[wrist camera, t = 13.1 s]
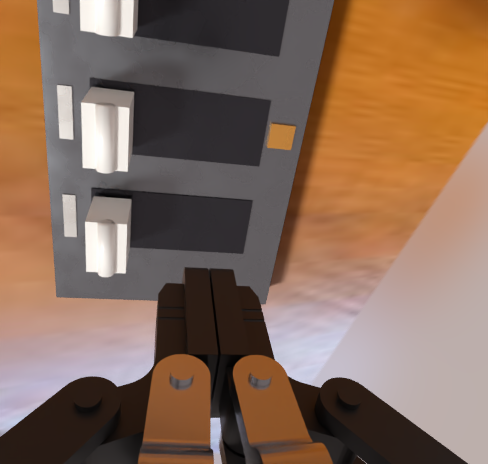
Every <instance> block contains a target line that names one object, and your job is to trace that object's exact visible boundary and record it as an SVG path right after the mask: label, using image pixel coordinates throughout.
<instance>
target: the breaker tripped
mask: <svg viewBox="0 0 488 464" xmlns="http://www.w3.org/2000/svg"><path fill="white" fill-rule="evenodd" d="M133 117H134V92H130V91H122V90H114V89H106V88H98V87H91V88H90V90H89V91H88V93H87V94H86V96H85V97H84V99H83V100H82V102H81V119H82V159H83V168H90V169H96V171H97V172H100V173H106V174H107V173H113V172H114V171H124V172H128V168H129V164H130V159H131V154H132V147H133Z"/></svg>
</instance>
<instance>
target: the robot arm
mask: <svg viewBox="0 0 488 464" xmlns="http://www.w3.org/2000/svg"><path fill="white" fill-rule="evenodd" d="M219 417H220V422H221V433H220V438H219V449H220V455H221V461H222V464H366V463H367V464H468V463H466V462H465V461H464V460H462V459H461V458H460V457H458V456H457V455H456V454H454V453H453V452H452V451H450V450H449V449H447V448H446V447H445V446H443V445H442V444H441V443H439V442H438V441H437V440H435V439H434V438H433V437H431V436H430V435H428V434H427V433H426V432H424V431H423V430H422V429H420V428H419V427H418V426H416V425H415V424H413V423H412V422H411V421H410V420H408V419H407V418H406V417H404V416H403V415H401V414H400V413H399V412H397V411H396V410H395V409H393V408H392V407H391V406H389V405H388V404H387V403H385V402H384V401H382V400H381V399H380V398H378V397H377V396H376V395H374V394H373V393H371V392H370V391H369V390H368V389H366V388H365V387H364V386H362V385H361V384H359V383H357V382H355V381H353V380H350V379H347V378H332V379H329V380H328V381H326V382H325V383H324V384H323V385H322V387H321V388H319V387H315V386H312V385H308V384H304V383H301V382H298V381H296V380H294V379H292V378H290V377H289V376H287V374H286V372H285V370H284V368H283V367H282V366H281V365H280V364H279V363H278V362H276V361H275V359H274V355H273V351H272V348H271V344H270V340H269V336H268V332H267V328H266V324H265V322H264V316H263V312H262V308H261V304H260V301H259V297H258V296H257V295H256V294H255V292H254V291H253V290H252V289H251V288H250V286H237V285H236V279H235V274H234V270H233V269H217V268H209V270H208V268H194V267H184V270H183V278H182V284H180V283H166V284H165V285H164V286H163V288H162V289H161V291H160V292H159V294H158V305H157V318H156V332H155V354H154V366H153V367H152V369H151V370H150V371H149V373H148V374H147V375H145V376H144V377H143V378H141V379H140V380H137V381H135V382H133V383H130V384H126V385H123V386H119V387H117V386H116V385H115V384H114V383H112V382H111V381H109V380H107V379H105V378H101V377H84V378H80V379H77V380H75V381H73V382H71V383H69V384H68V385H66V386H65V387H63V388H62V389H61V390H60V391H58V392H57V393H56V394H55V395H53V396H52V397H51V398H49V399H48V400H47V401H46V402H44V403H43V404H42V405H41V406H39V407H38V408H37V409H35V410H34V411H33V412H32V413H30V414H29V415H28V416H27V417H25V418H24V419H23V420H21V421H20V422H19V423H18V424H16V425H15V426H14V427H13V428H11V429H10V430H9V431H7V432H6V433H5V434H4V435H2V436H1V437H0V464H214V458H213V450H212V449H211V448H210V418H219ZM358 456H359V457H360V458H361V459H362V460H363V461H362V460H361V459H360V458H359V457H358ZM364 461H365V462H366V463H365V462H364Z"/></svg>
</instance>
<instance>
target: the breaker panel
mask: <svg viewBox="0 0 488 464" xmlns="http://www.w3.org/2000/svg"><path fill="white" fill-rule="evenodd" d="M333 4H334V0H138V25H137V31H136V33H135V35H134V36H133V38H129V37H122V36H104V35H99V34H96V33H94V32H87V31H80V0H37V7H38V22H39V38H40V53H41V68H42V83H43V99H44V114H45V129H46V144H47V159H48V175H49V190H50V205H51V220H52V236H53V251H54V266H55V281H56V296H57V297H66V298H95V299H124V300H153V301H158V294H159V292H160V291H161V289H162V288H163V286H164V285H165V284H166V283H180V284H182V278H183V270H184V267H194V268H208V270H209V268H217V269H233V270H234V274H235V279H236V285H237V286H250V288H251V289H252V290H253V291H254V292H255V294H256V295H257V296H258V297H259V301H260V304H266V300H267V295H268V291H269V287H270V282H271V278H272V273H273V269H274V264H275V260H276V256H277V251H278V247H279V242H280V238H281V233H282V229H283V225H284V220H285V216H286V211H287V207H288V203H289V198H290V194H291V189H292V185H293V180H294V176H295V172H296V167H297V163H298V158H299V154H300V149H301V145H302V141H303V136H304V132H305V127H306V123H307V118H308V114H309V110H310V105H311V101H312V96H313V92H314V88H315V83H316V79H317V74H318V70H319V65H320V61H321V57H322V52H323V48H324V43H325V39H326V34H327V30H328V26H329V21H330V17H331V12H332V8H333ZM91 87H98V88H106V89H114V90H122V91H130V92H134V117H133V147H132V154H131V159H130V164H129V168H128V172H124V171H114V172H113V173H107V174H106V173H100V172H97V171H96V169H90V168H83V159H82V119H81V102H82V100H83V99H84V97H85V96H86V94H87V93H88V91H89V90H90V88H91ZM94 196H98V197H111V198H124V199H132V203H131V233H130V249H129V255H128V262H127V268H126V274H125V273H114V275H112V276H111V277H101V276H99V275H98V272H86V242H85V220H86V217H87V214H88V212H89V209H90V206H91V203H92V200H93V197H94Z"/></svg>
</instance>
